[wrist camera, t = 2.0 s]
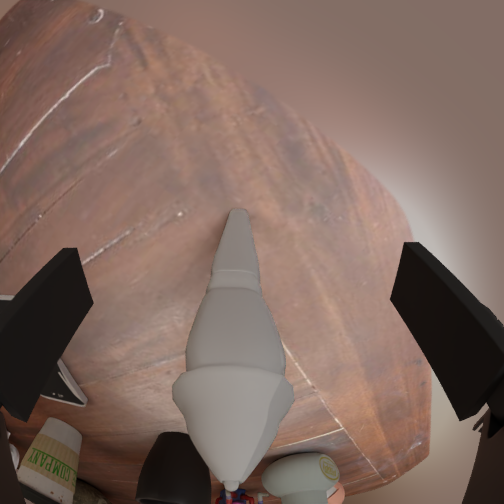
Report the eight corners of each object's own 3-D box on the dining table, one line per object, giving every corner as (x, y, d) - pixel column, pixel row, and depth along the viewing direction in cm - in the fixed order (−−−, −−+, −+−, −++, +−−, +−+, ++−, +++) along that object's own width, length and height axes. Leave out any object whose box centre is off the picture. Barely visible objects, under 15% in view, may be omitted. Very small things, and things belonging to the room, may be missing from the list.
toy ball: (320, 469, 35) (327, 510, 28) (349, 471, 38) (357, 507, 30) (287, 482, 38) (291, 519, 31) (317, 485, 40) (322, 518, 33)
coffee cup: (105, 446, 32) (86, 526, 19) (68, 442, 33) (47, 510, 20) (60, 410, 28) (29, 499, 14) (27, 408, 29) (-3, 481, 16)
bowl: (144, 505, 56) (139, 544, 42) (75, 487, 56) (67, 520, 43) (99, 478, 43) (89, 528, 30) (25, 451, 44) (11, 491, 30)
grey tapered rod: (215, 191, 16) (137, 462, 3) (264, 191, 16) (319, 467, 3) (217, 233, 17) (172, 498, 4) (263, 233, 17) (296, 500, 4)
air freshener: (340, 458, 33) (350, 513, 24) (291, 473, 35) (297, 525, 27) (309, 440, 29) (319, 511, 20) (252, 456, 31) (254, 521, 22)
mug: (172, 461, 33) (165, 516, 24) (136, 424, 27) (121, 493, 19) (227, 462, 32) (225, 520, 24) (203, 426, 27) (197, 504, 18)
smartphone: (23, 301, 18) (88, 408, 25) (31, 292, 19) (91, 399, 26) (-20, 298, 18) (41, 396, 25) (-13, 290, 19) (45, 389, 26)
